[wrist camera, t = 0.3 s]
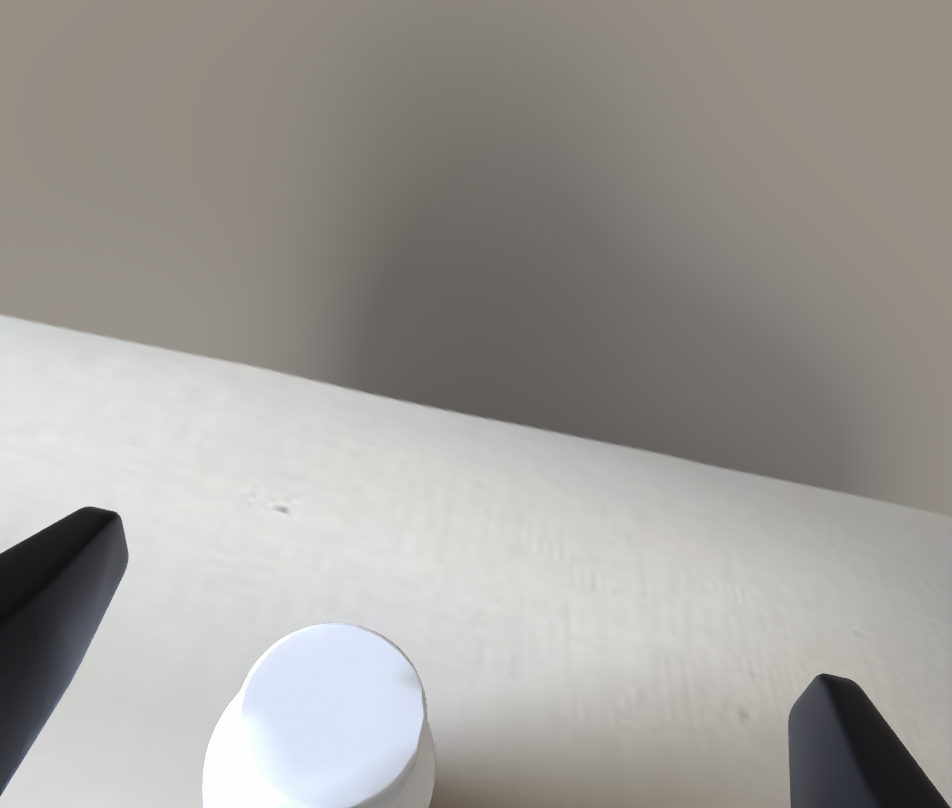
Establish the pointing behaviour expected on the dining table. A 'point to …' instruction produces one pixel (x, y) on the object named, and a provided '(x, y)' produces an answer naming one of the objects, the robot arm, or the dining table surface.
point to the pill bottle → (324, 728)
